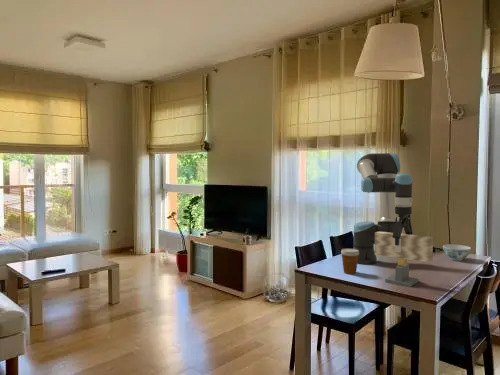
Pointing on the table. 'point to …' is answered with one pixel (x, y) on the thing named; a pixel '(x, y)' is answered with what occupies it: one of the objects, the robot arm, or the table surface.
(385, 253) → the birch beam
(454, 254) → the chinaware
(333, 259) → the table surface
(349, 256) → the disposable coffee cup
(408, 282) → the stand
